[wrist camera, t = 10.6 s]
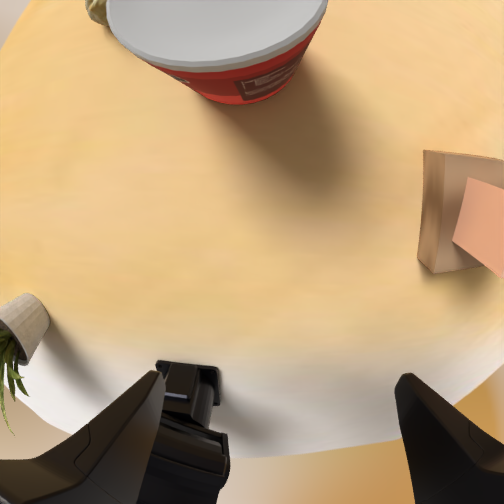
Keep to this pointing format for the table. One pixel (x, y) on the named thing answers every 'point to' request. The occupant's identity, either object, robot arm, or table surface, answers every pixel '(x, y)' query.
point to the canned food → (220, 42)
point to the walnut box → (450, 205)
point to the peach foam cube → (482, 224)
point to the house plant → (19, 338)
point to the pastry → (97, 11)
